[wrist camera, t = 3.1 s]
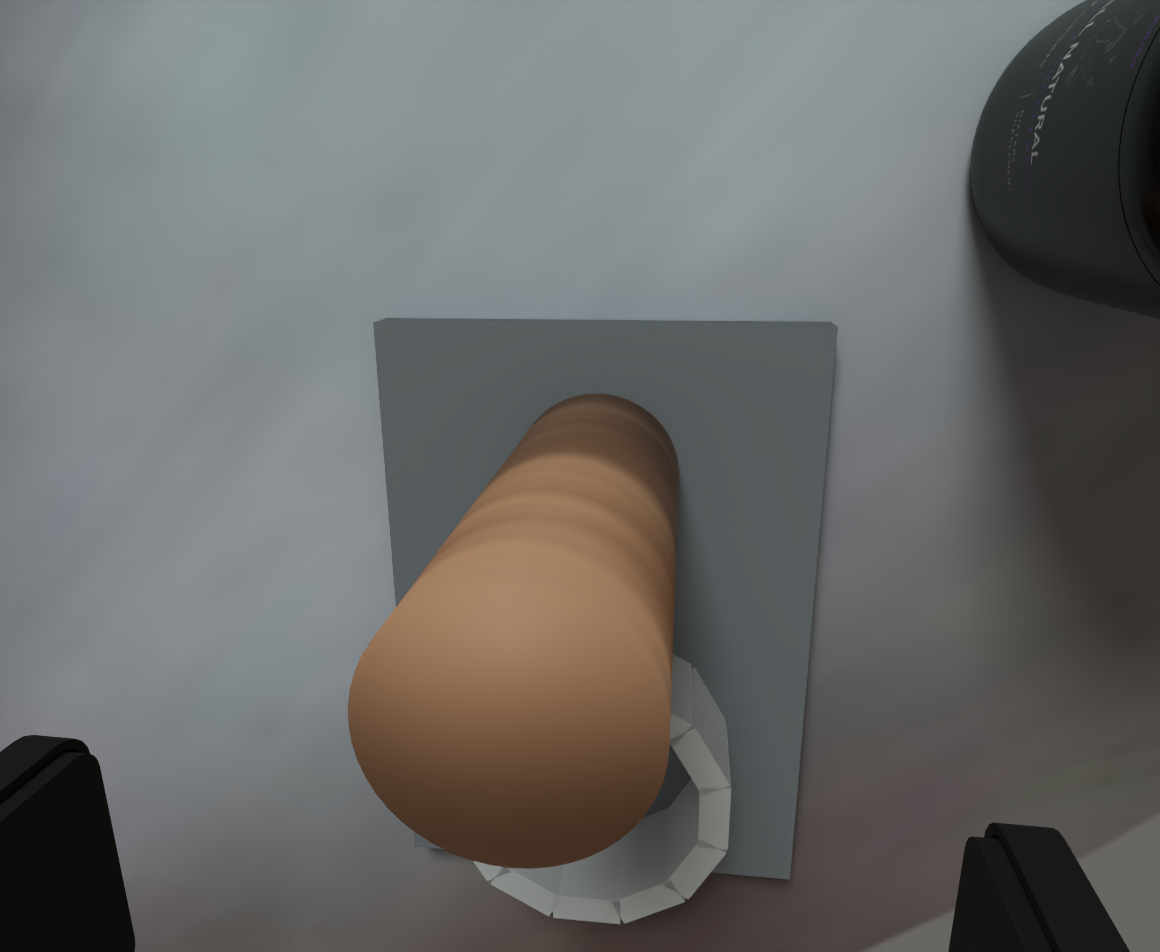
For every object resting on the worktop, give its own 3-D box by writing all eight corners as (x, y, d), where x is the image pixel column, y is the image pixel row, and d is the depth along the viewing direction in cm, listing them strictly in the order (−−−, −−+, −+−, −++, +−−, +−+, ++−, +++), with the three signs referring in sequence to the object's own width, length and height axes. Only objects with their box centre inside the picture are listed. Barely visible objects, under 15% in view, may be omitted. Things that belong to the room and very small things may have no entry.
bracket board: (386, 318, 23) (326, 338, 19) (830, 322, 22) (861, 344, 18) (424, 825, 28) (383, 920, 24) (786, 855, 27) (802, 962, 23)
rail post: (515, 392, 22) (332, 577, 11) (681, 395, 22) (674, 594, 10) (520, 544, 23) (362, 854, 12) (676, 551, 23) (665, 882, 12)
